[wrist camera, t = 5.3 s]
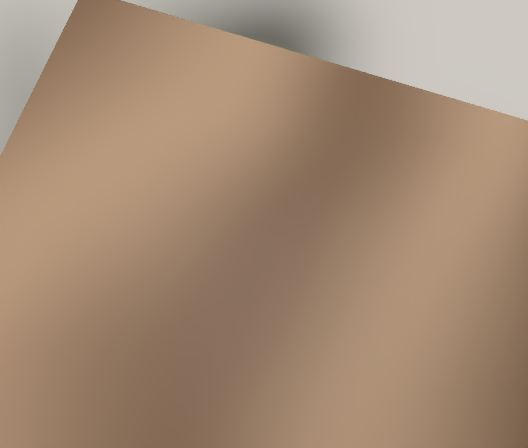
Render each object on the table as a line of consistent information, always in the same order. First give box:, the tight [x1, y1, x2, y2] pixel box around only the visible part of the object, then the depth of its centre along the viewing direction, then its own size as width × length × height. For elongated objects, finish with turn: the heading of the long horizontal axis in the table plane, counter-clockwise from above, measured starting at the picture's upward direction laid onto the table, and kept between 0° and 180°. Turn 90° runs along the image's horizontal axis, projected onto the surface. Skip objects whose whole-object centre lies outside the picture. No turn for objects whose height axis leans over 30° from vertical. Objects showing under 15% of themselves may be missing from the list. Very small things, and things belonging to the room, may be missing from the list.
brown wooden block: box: [0, 0, 528, 448], centre depth 11 cm, size 10×10×13 cm
